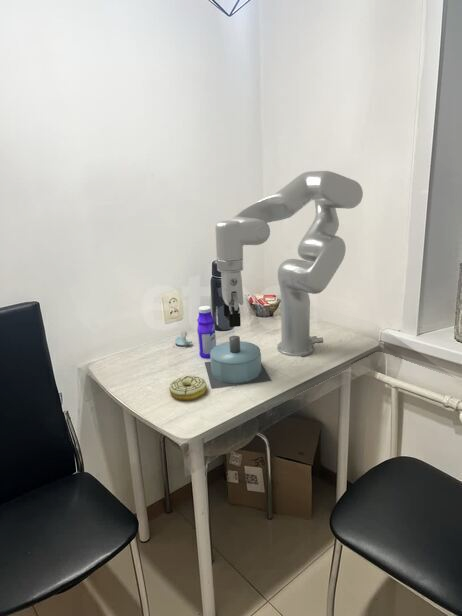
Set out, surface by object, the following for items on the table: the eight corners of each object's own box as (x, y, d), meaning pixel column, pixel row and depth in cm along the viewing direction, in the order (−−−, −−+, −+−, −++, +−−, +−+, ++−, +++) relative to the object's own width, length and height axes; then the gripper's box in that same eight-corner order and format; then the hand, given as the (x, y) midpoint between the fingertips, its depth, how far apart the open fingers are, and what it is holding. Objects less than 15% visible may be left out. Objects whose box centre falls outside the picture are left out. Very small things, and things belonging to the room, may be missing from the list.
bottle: (213, 360, 138) (210, 311, 133) (197, 359, 139) (193, 310, 134) (218, 351, 145) (215, 304, 139) (203, 350, 146) (199, 303, 140)
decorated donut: (191, 380, 126) (190, 369, 125) (214, 392, 118) (213, 380, 117) (162, 394, 119) (161, 382, 118) (185, 407, 112) (184, 395, 110)
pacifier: (180, 351, 146) (194, 346, 150) (178, 335, 144) (192, 330, 148) (170, 346, 152) (183, 341, 155) (167, 330, 150) (181, 325, 153)
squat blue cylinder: (254, 357, 137) (253, 326, 134) (266, 379, 123) (265, 344, 119) (208, 363, 135) (206, 331, 131) (215, 386, 121) (212, 350, 117)
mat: (257, 356, 139) (257, 355, 139) (271, 381, 122) (271, 380, 122) (204, 363, 136) (204, 362, 136) (211, 390, 119) (211, 388, 119)
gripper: (249, 270, 110) (250, 329, 116) (237, 258, 127) (238, 311, 132) (221, 272, 109) (224, 332, 115) (213, 260, 126) (215, 313, 131)
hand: (232, 320), depth 123 cm, fingers open, 9 cm apart
